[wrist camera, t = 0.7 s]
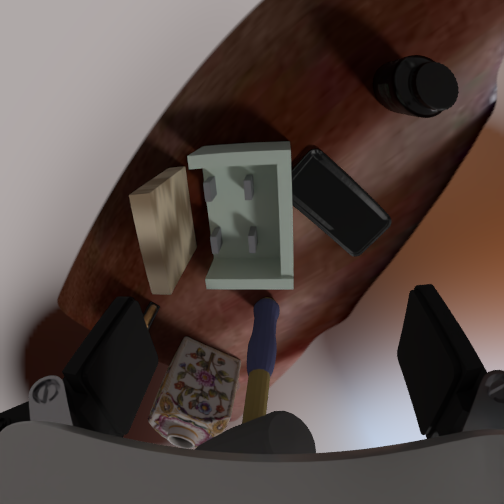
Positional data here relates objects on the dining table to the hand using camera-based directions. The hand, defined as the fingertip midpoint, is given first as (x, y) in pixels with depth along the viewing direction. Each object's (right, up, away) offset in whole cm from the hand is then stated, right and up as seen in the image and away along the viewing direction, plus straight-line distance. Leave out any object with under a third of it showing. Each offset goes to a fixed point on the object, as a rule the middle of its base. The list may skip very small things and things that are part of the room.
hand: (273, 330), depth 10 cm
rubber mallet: (+2, -5, +39) cm, 39 cm away
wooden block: (-10, +9, +33) cm, 35 cm away
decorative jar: (-10, -19, +47) cm, 52 cm away
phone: (+11, +9, +31) cm, 34 cm away
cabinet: (-1, +9, +32) cm, 33 cm away
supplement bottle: (+17, +23, +22) cm, 36 cm away
